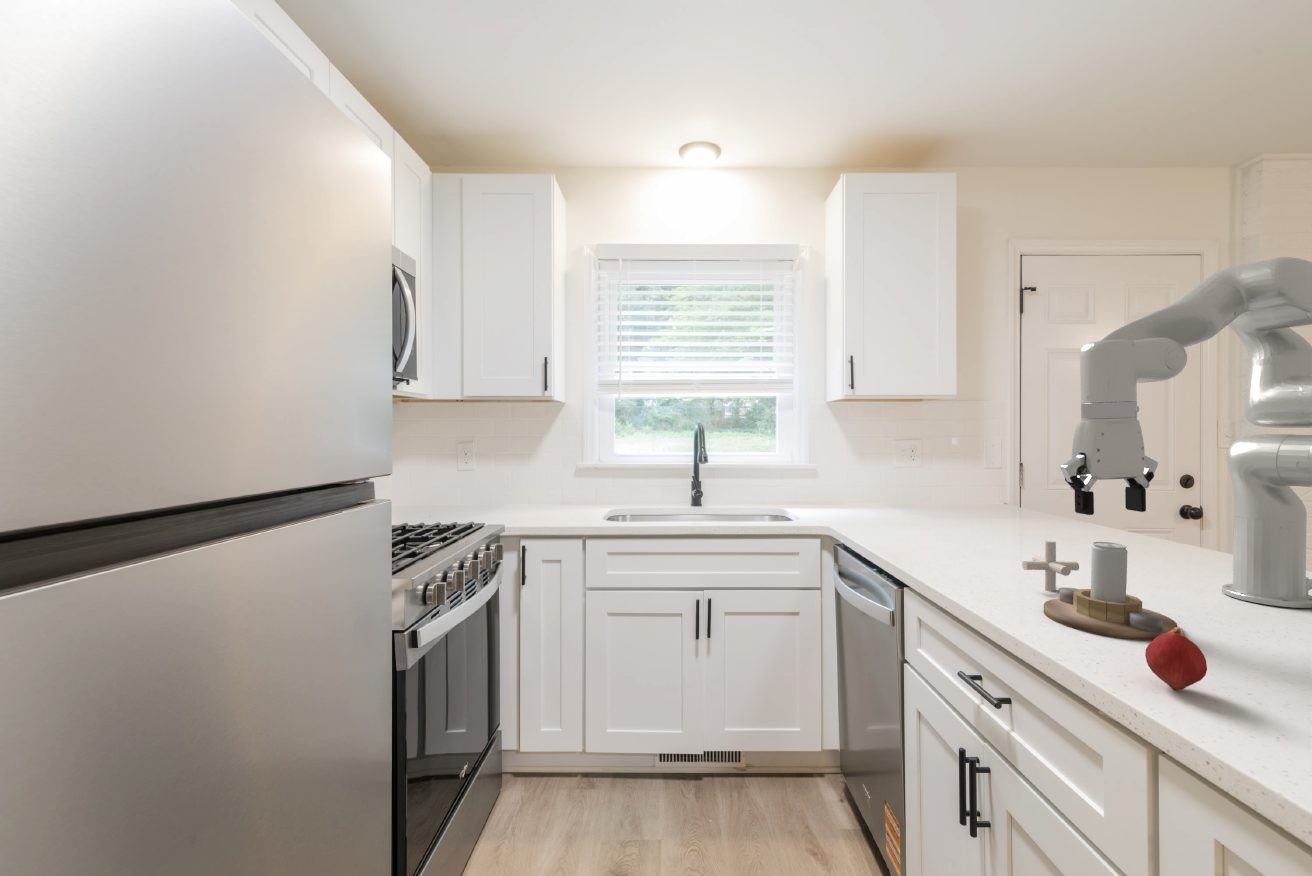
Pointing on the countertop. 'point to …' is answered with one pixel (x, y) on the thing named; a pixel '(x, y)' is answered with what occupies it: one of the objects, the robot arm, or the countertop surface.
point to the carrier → (1107, 616)
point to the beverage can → (1109, 572)
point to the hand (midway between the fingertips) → (1110, 512)
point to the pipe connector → (1050, 565)
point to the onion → (1176, 659)
